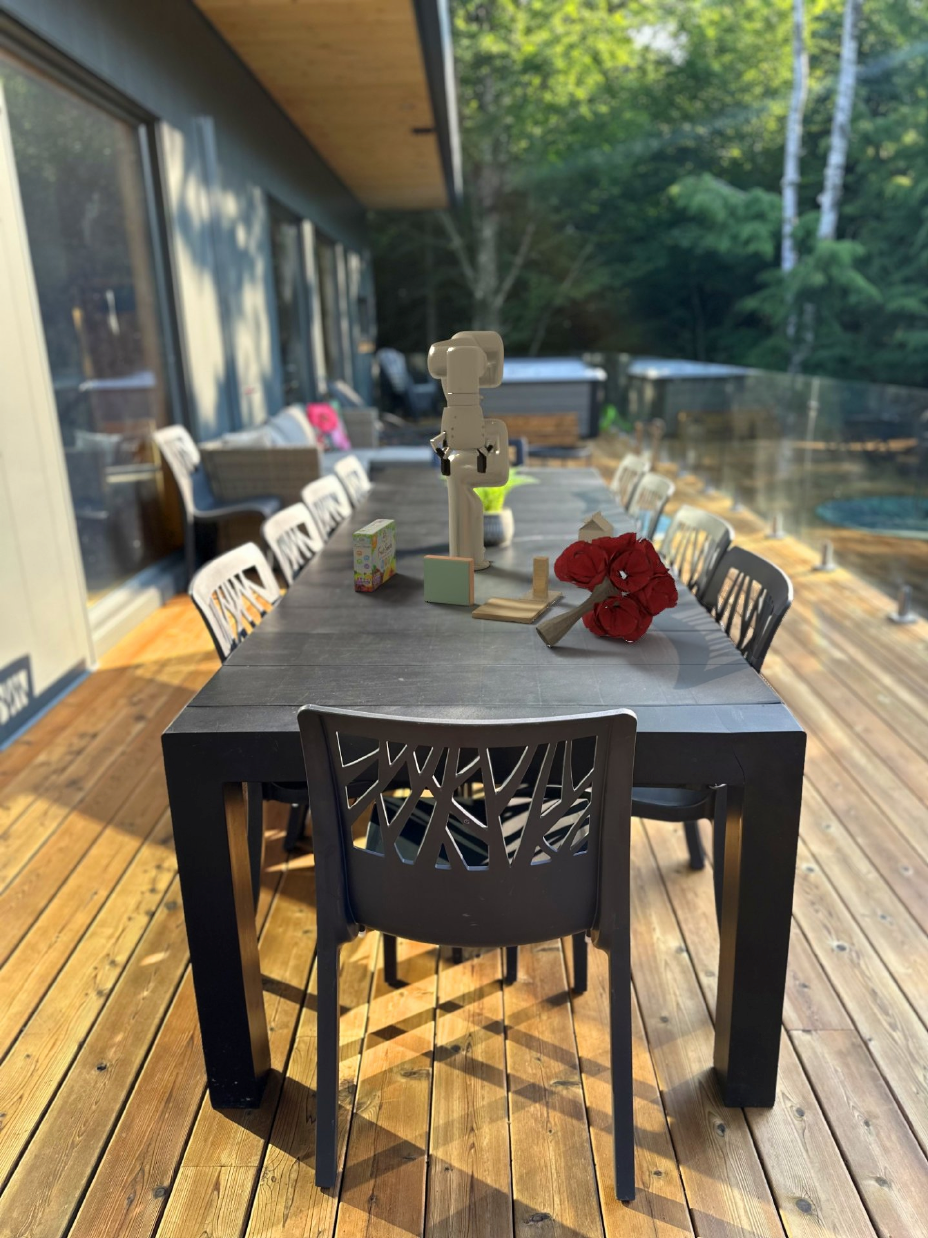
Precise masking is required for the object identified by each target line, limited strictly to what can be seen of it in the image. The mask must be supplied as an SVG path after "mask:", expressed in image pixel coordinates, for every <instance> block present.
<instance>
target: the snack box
mask: <svg viewBox="0 0 928 1238" xmlns="http://www.w3.org/2000/svg"><path fill="white" fill-rule="evenodd" d="M352 539H353V541H352V543H353V544H352V545H353V578H354V581H353V582H354V583H353V585H354V589H353V591H355V592H366V593H367V592H369V593H373V592H374V591H375V590H377V589H378V588H379V587H380V586H381V585H382V584H384V583H385V582H386V581H388V580H389V579H390V578H391V577H392V576H394V575H396V567H397V566H396V520H395V519H386V518H385V519H383V518H381V519H379V518H378V519H375V520H374V521H372V522H370V523H369V524H367V525H365V526H363V527H362V528H361V529H359V530H357V531H355V532H354V533H353V534H352Z"/></svg>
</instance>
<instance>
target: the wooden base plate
mask: <svg viewBox="0 0 928 1238" xmlns="http://www.w3.org/2000/svg"><path fill="white" fill-rule="evenodd" d="M547 607H549V608H550V606H549V602H541V601H530V600H520V599H519V598H518V599H517V598H508V597H500V596H499V597H497V596H493V597H491V598H490V599H489V600H487V601H485V602H484V603H483V604H481V605H480V606H479V607H477V608H476V609H474V610H473V611H471V617H472V619H473V618H475V619H483V620H494V621H503V622H511V621H516V622H515V623H520V622H521V624H522V623H523V624H532V623H533V622H534V621H535V620H537V618H539V615H540V614H541V613H542V612H543V611H544V610H545V609H546V610H548V609H547ZM546 610H545V611H546ZM545 611H544V612H545ZM544 612H543V613H544ZM543 613H542V614H543ZM542 614H541V615H542ZM541 615H540V616H541ZM534 619H535V620H534ZM533 620H534V621H533ZM532 621H533V622H532ZM531 622H532V623H531Z"/></svg>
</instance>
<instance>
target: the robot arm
mask: <svg viewBox="0 0 928 1238" xmlns="http://www.w3.org/2000/svg"><path fill="white" fill-rule="evenodd" d="M504 349H505V348H504V343H503V340H502V337H501V335H500V334H499V333H498V332H497V331H493V330H474V331H473V330H468V331H459V332H457V333H456V334H454V335H453V336H452V337H451V338H450V339H448V340H447V339H446V340H443V341H439V342H434V343H433V344H431V346H430V348H429V351H428V355H427V368H428V369H427V370H428V372H429V375H430V376H431V377H432V378H433V379H436V380H441V387H442V389H443V390H442V391H443V393H444V396H445V399H446V402H447V403H446V404H447V407H443V410H442V418H441V424H440V426H441V427H440V428H441V429H440V434H438V435H436V436H435V437H434V438H432V439H430V441H429V442H430V443H429V444H430V445H431V448H432V449H433V452H434V453H435V454H436V455H437V456H438V458H439V459H440V472H441V475H442V476H445V479H446V486H447V495H448V497H447V498H448V531H449V532H448V535H449V537H448V539H449V544H448V545H449V557H459V558H472V559H474V571H479V570H483V569H486V568H489V566H490V562H489V560H487V559H485V557H484V554H485V552H486V547H485V546H484V504H483V501H482V499H481V497H480V496H479V495H478V493H476V491H475V490H474V489H479V488H480V489H481V488H501V487H505V486H506V485H507V484H508V482H509V478H510V453H509V452H510V451H509V449H510V448H509V433H508V428H507V425H506V422H504V421H503V420H501V419H500V418H499V419H498V418H484V414H483V413H484V412H483V409H482V406H481V405H480V403H481V402H483V401H484V396H483V395H480V389H492V388H493V389H494V388H498V387H499V386H500V385H501V384H502V383H503V379H504V363H505V361H504V360H505V359H504V358H505V356H504V354H505V353H504V352H505V351H504ZM453 451H454V452H455V453H452V452H453Z"/></svg>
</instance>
